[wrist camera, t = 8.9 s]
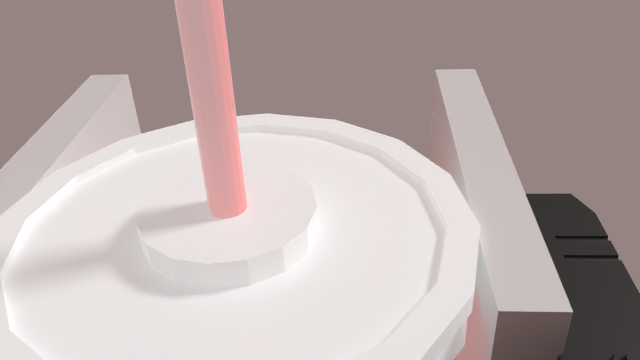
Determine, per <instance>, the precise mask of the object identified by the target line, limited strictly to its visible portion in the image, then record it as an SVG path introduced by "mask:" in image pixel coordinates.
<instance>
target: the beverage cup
mask: <svg viewBox="0 0 640 360" xmlns="http://www.w3.org/2000/svg"><path fill="white" fill-rule="evenodd" d="M174 2H175V8H176V14H177V20H178V26H179V32H180V38H181V44H182V50H183V56H184V62H185V68H186V74H187V81H188V86H189V93H190V98H191V105H192V111H193V117H194V120H192V121H189V122H185V123H181V124H177V125H173V126H170V127H166V128H162V129H158V130H154V131H150V132H147V133H143V134H139V135H135V136H131V137H128V138H124V139H121V140H119V141H117V142H115V143H113V144H111V145H109V146H107V147H104V148H102V149H100V150H98V151H96V152H94V153H92V154H90V155H88V156H86V157H83V158H81V159H79V160H77V161H75V162H73V163H71V164H69V165H67V166H65V167H62V168H60V169H58V170H56V171H54V172H53V173H52V174H51V175H49V176H48V177H47V178H46V179H44V180H43V181H42V182H41V183H40V184H38V185H37V186H36V187H35V188H33V189H32V190H31V191H30V192H29V193H27V194H26V195H25V196H24V197H22V198H21V199H20V200H19V201H18V202H16V203H15V204H14V205H13V206H12V207H10V208H9V209H8V210H7V211H5V212H4V213H3V214H2V215H1V216H0V360H454V359H455V357H456V356H457V355H458V353H459V352H460V351H461V349H462V348H463V347H464V345H465V338H466V328H467V318H468V316H469V315H470V314H471V313H472V306H473V299H474V290H475V280H476V269H477V259H478V249H479V238H480V228H481V226H480V224H479V222H478V221H477V219H476V217H475V216H474V214H473V212H472V210H471V209H470V207H469V205H468V203H467V202H466V200H465V198H464V197H463V195H462V193H461V191H460V190H459V188H458V186H457V184H456V183H455V181H454V179H453V178H452V176H451V174H449V173H448V172H446V171H445V170H443V169H442V168H440V167H439V166H437V165H436V164H434V163H433V162H431V161H430V160H428V159H427V158H426V157H424V156H423V155H421V154H420V153H418V152H417V151H415V150H414V149H412V148H411V147H409V146H408V145H407V144H405V143H404V142H402V141H401V140H399V139H395V138H392V137H389V136H386V135H383V134H380V133H376V132H373V131H370V130H367V129H364V128H360V127H357V126H354V125H351V124H348V123H344V122H341V121H338V120H332V119H321V118H310V117H299V116H288V115H276V114H257V115H245V116H236V109H235V102H234V94H233V86H232V77H231V69H230V61H229V53H228V44H227V36H226V28H225V20H224V12H223V4H222V0H174Z"/></svg>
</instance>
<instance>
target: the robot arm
mask: <svg viewBox="0 0 640 360" xmlns="http://www.w3.org/2000/svg"><path fill="white" fill-rule="evenodd" d="M434 86H435V87H434V101H433V116H432V117H433V118H432V132H431V148H430V161H431V162H433V163H434V164H436V165H437V166H439V167H440V168H442V169H443V170H445V171H446V172H448V173H449V174H451V176H452V178H453V179H454V181H455V183H456V184H457V186H458V188H459V190H460V191H461V193H462V195H463V197H464V198H465V200H466V202H467V203H468V205H469V207H470V209H471V210H472V212H473V214H474V216H475V217H476V219H477V221H478V222H479V224H480V226H481V228H480V238H479V249H478V259H477V269H476V280H475V290H474V299H473V306H472V313H471V314H470V315H469V316H468V318H467V328H466V338H465V345H464V347H463V348H462V349H461V351H460V352H459V353H458V355H457V356H456V360H640V293H639V292H638V290H637V288H636V286H635V284H634V283H633V281H632V279H631V277H630V275H629V274H628V272H627V270H626V268H625V266H624V264H623V263H622V261H621V260H618V254H617V252H616V250H615V248H614V246H613V245H612V243H611V241H608V235H607V234H606V232H605V230H604V228H603V226H602V225H601V223H600V221H599V219H598V217H597V216H596V214H595V213H594V212H593V211H592V210H591V209H589V208H588V207H587V206H586V205H584V204H583V203H582V202H580V201H579V200H578V199H577V198H575V197H574V196H573V195H572V194H525V192H524V189H523V187H522V184H521V182H520V179H519V177H518V174H517V172H516V169H515V167H514V164H513V162H512V160H511V157H510V154H509V152H508V150H507V148H506V145H505V142H504V140H503V137H502V135H501V132H500V130H499V127H498V125H497V122H496V120H495V117H494V115H493V113H492V110H491V108H490V105H489V103H488V100H487V98H486V95H485V93H484V90H483V88H482V85H481V83H480V80H479V78H478V75H477V73H476V70H475V69H459V70H458V69H457V70H456V69H453V70H435V85H434ZM139 134H141V132H140V127H139V123H138V118H137V114H136V109H135V105H134V100H133V96H132V92H131V87H130V83H129V78H128V75H91V76H90V77H89V78H88V79H87V80H86V81H85V82H84V83H83V84H82V85H81V86H80V88H79V89H78V90H77V91H76V92H75V93H74V94H73V95H72V96H71V97H70V98H69V99H68V100H67V101H66V102H65V103H64V104H63V105H62V106H61V107H60V108H59V109H58V110H57V111H56V112H55V113H54V114H53V116H52V117H51V118H50V119H49V120H48V121H47V122H46V123H45V124H44V125H43V126H42V127H41V128H40V129H39V130H38V131H37V132H36V133H35V134H34V135H33V136H32V137H31V138H30V139H29V140H28V142H27V143H26V144H25V145H24V146H23V147H22V148H21V149H20V150H19V151H18V152H17V153H16V154H15V155H14V156H13V157H12V158H11V159H10V160H9V161H8V162H7V163H6V164H5V165H4V166H3V167H2V169H1V170H0V216H1V215H2V214H3V213H4V212H5V211H7V210H8V209H9V208H10V207H12V206H13V205H14V204H15V203H16V202H18V201H19V200H20V199H21V198H22V197H24V196H25V195H26V194H27V193H29V192H30V191H31V190H32V189H33V188H35V187H36V186H37V185H38V184H40V183H41V182H42V181H43V180H44V179H46V178H47V177H48V176H49V175H51V174H52V173H53V172H54V171H56V170H58V169H60V168H62V167H65V166H67V165H69V164H71V163H73V162H75V161H77V160H79V159H81V158H83V157H86V156H88V155H90V154H92V153H94V152H96V151H98V150H100V149H102V148H104V147H107V146H109V145H111V144H113V143H115V142H117V141H119V140H121V139H124V138H128V137H131V136H135V135H139Z"/></svg>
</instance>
